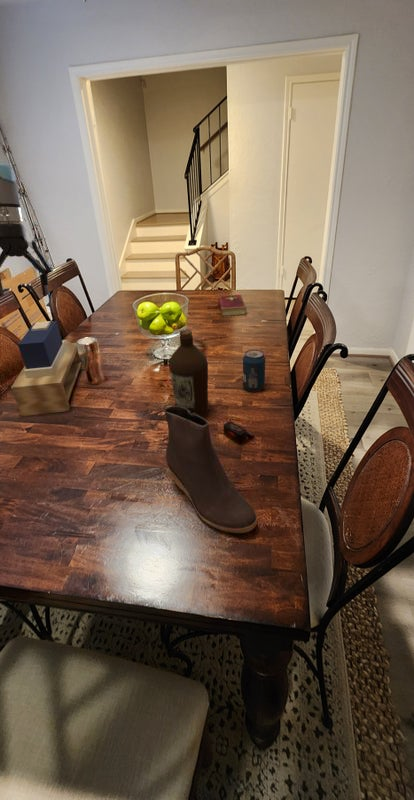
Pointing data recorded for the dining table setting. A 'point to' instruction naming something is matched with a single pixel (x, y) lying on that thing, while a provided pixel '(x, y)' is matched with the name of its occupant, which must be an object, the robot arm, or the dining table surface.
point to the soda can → (253, 370)
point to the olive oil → (189, 376)
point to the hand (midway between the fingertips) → (23, 295)
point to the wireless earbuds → (236, 432)
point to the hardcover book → (232, 305)
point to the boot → (204, 473)
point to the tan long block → (48, 386)
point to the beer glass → (91, 359)
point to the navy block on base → (42, 349)
